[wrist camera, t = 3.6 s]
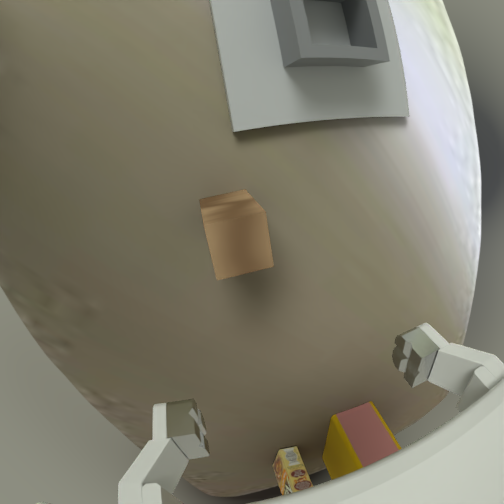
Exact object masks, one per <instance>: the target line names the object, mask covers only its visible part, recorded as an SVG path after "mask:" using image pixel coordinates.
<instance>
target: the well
mask: <svg viewBox="0 0 504 504" xmlns="http://www.w3.org/2000/svg"><path fill="white" fill-rule="evenodd" d="M209 3H210V8H211V14H212V19H213V25H214V30H215V36H216V42H217V47H218V53H219V58H220V64H221V70H222V75H223V81H224V87H225V92H226V98H227V104H228V109H229V115H230V120H231V126H232V132H236V131H242V130H248V129H254V128H261V127H268V126H275V125H282V124H290V123H299V122H308V121H318V120H330V119H344V118H361V117H409V108H408V99H407V91H406V83H405V77H404V70H403V64H402V59H401V53H400V48H399V43H398V38H397V34H396V29H395V25H394V21H393V17H392V13H391V9H390V6H389V2H388V0H209Z"/></svg>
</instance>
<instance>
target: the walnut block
mask: <svg viewBox="0 0 504 504" xmlns="http://www.w3.org/2000/svg"><path fill="white" fill-rule="evenodd" d="M200 206H201V212H202V218H203V224H204V229H205V233H206V237H207V242H208V246H209V250H210V254H211V258H212V262H213V266H214V270H215V274H216V278H217V280H221V279H225V278H229V277H234V276H238V275H242V274H246V273H250V272H254V271H258V270H262V269H266V268H270V267H274V265H273V258H272V251H271V244H270V237H269V231H268V224H267V217H266V212H265V211H264V209H263V208H262V207H261V206H260V205H259V204H258V203H257V202H256V201H255V200H254V198H253V197H252V196H251V195H250V194H249V193H248V192H247V191H246V190H240V191H235V192H231V193H226V194H222V195H217V196H213V197H208V198H204V199H200Z"/></svg>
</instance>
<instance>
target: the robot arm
mask: <svg viewBox="0 0 504 504" xmlns="http://www.w3.org/2000/svg"><path fill="white" fill-rule="evenodd" d="M395 344H396V345H397V346H396V347H395V348H394V350H393V354H392V358H393V363H394V365H395V367H396V368H397V369H398V370H399V371H401V372H404V378H405V380H406V381H407V382H408V383H409V385H410V386H411V387H412V388H413V387H415V386H417V385H418V384H420V383H422V382H424V381H426V380H428V381H429V382H431V383H433V384H435V385H438V386H440V387H442V388H444V389H446V390H448V391H450V392H452V393H455V394H457V395H459V396H461V398H460V400H459V402H458V403H457V406H456V408H457V409H458V410H459V412H460V413H459V414H458V415H456V416H455V417H453V418H452V419H450V420H449V421H447V422H446V423H444V424H443V425H441V426H440V427H438V428H437V429H435V430H433V431H432V432H430V433H429V434H427V435H425V436H424V437H422V438H420V439H418V440H417V441H415V442H413V443H411V444H410V445H408V446H406V447H404V448H402V449H400V450H398V451H397V452H395V453H393V454H391V455H389V456H387V457H385V458H383V459H380V460H378V461H376V462H374V463H372V464H370V465H368V466H365V467H363V468H361V469H358V470H356V471H354V472H351V473H349V474H346V475H344V476H341V477H339V478H336V479H333V480H331V481H328V482H325V483H322V484H319V485H316V486H313V487H310V488H307V489H304V490H300V491H297V492H294V493H290V494H286V495H283V496H279V497H275V498H271V499H267V500H262V501H258V502H253V503H248V504H504V364H503V363H502V362H501V361H500V360H499V359H498V358H497V357H496V356H495V355H493V354H489V353H486V352H483V351H479V350H476V349H472V348H469V347H465V346H462V345H458V344H455V343H450V344H449V343H448V342H447V341H446V340H445V339H444V338H443V337H442V336H441V335H440V334H439V333H438V332H437V331H436V330H435V329H434V328H432V327H431V326H430V325H429V324H428V323H424V324H422V325H419V326H417V327H415V328H413V329H410V330H408V331H406V332H404V333H402V334H400V335H398V336H397V337H396V338H395ZM206 432H207V431H206V425H205V421H204V418H203V415H202V413H201V411H200V410H198V409H197V403H196V402H195V400H194V399H188V400H181V401H174V402H167V403H160V404H154V407H153V440H149V441H148V443H147V444H146V445H145V447H144V448H143V450H142V451H141V452H140V454H139V455H138V457H137V458H136V460H135V461H134V462H133V464H132V465H131V467H130V468H129V469H128V471H127V472H126V473H125V475H124V476H123V478H122V479H121V480H120V482H119V488H118V489H119V490H118V504H184V503H182V502H181V501H179V500H178V499H177V498H176V497H174V496H173V495H172V494H173V492H174V490H175V488H176V486H177V484H178V482H179V480H180V478H181V476H182V474H183V472H184V470H185V468H186V466H187V464H188V462H189V459H195V458H201V457H206V456H210V452H209V445H208V441H207V439H206V438H205V436H204V435H205V434H206ZM37 504H50V503H44V502H39V503H37Z"/></svg>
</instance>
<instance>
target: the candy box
mask: <svg viewBox="0 0 504 504" xmlns="http://www.w3.org/2000/svg"><path fill="white" fill-rule="evenodd" d="M273 469H274V472H275V475H276V478H277V481H278V484H279V487H280V490H281V493H282V496H283V495H286V494H290V493H294V492H297V491H300V490H304V489H307V488H310V487H313V485H312V483H311V480H310V478H309V476H308V473H307V471H306V468H305V466H304V463H303V461H302V458H301V456H300V453H299V451H298V448H297V446H295V447H290V448H285V449H279V451H278V454H277V456H276V459H275V461H274V464H273Z"/></svg>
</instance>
